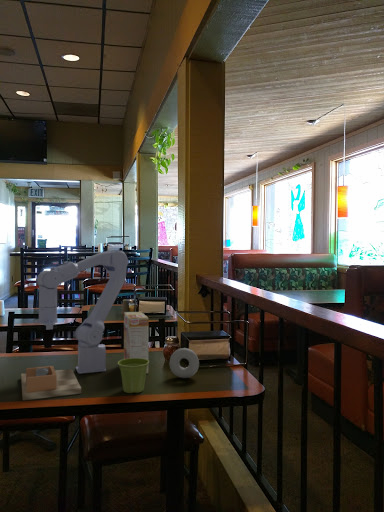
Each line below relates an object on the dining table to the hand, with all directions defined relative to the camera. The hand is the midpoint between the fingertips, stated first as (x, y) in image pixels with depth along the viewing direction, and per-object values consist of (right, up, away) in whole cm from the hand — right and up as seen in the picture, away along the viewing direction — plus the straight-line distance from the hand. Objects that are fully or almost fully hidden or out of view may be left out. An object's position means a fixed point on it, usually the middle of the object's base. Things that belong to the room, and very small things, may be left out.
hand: (47, 347), depth 137 cm
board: (+3, -10, -8) cm, 13 cm away
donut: (+45, -11, +1) cm, 46 cm away
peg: (+3, -10, -13) cm, 16 cm away
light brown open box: (+2, -8, -13) cm, 16 cm away
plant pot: (+30, -10, -12) cm, 34 cm away
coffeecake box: (+28, -10, +12) cm, 32 cm away
